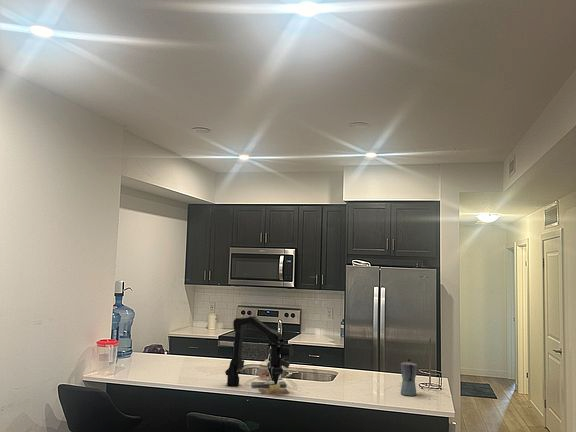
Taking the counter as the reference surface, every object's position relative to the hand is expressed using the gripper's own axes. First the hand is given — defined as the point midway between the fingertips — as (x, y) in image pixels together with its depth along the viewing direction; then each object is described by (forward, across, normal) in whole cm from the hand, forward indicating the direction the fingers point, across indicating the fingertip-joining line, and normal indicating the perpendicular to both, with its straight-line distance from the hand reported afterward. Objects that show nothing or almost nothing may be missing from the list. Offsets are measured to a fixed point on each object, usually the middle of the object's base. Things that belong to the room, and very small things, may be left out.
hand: (274, 382), depth 307 cm
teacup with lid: (+5, +33, -2) cm, 34 cm away
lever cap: (+4, 0, 0) cm, 5 cm away
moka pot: (+5, -12, -77) cm, 78 cm away
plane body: (+5, +12, +1) cm, 13 cm away
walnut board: (+5, 0, 0) cm, 5 cm away
